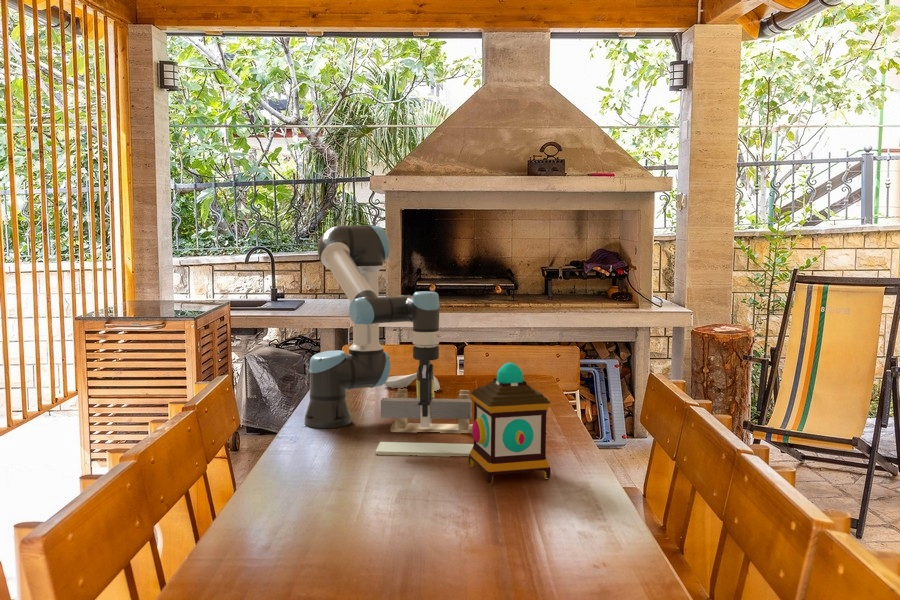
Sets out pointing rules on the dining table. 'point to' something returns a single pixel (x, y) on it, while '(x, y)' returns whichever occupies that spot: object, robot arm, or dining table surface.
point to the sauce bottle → (419, 383)
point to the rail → (437, 408)
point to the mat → (423, 449)
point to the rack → (403, 426)
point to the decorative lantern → (509, 426)
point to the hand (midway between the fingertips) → (425, 424)
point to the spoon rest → (406, 381)
